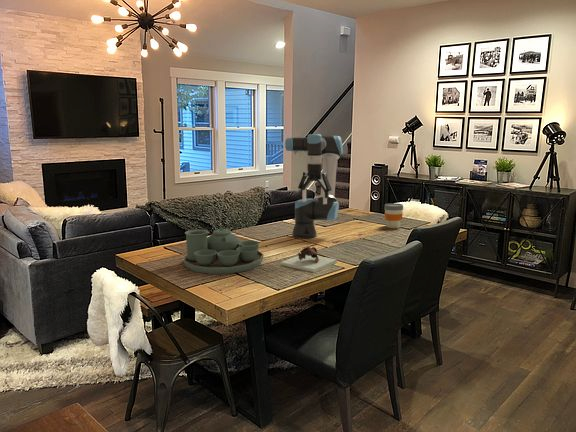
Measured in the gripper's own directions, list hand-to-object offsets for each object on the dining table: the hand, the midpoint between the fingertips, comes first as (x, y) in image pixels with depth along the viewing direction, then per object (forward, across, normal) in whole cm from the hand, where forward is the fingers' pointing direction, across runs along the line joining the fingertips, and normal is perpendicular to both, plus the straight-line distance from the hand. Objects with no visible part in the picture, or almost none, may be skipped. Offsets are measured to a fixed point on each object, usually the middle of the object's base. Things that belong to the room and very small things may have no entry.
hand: (314, 202), depth 250 cm
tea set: (+27, -24, -45) cm, 58 cm away
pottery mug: (+25, +12, -22) cm, 36 cm away
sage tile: (+27, +12, -22) cm, 37 cm away
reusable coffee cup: (+27, +8, +82) cm, 87 cm away
